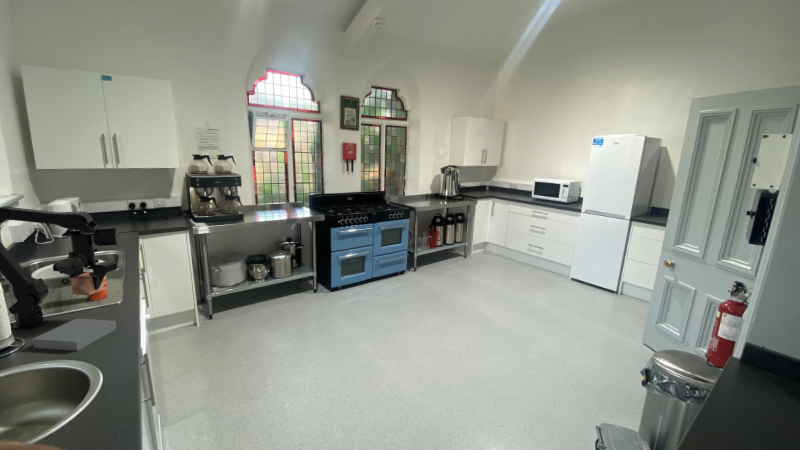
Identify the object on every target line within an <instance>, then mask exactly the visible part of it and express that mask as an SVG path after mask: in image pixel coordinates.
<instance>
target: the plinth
mask: <svg viewBox="0 0 800 450" xmlns="http://www.w3.org/2000/svg"><path fill="white" fill-rule="evenodd" d="M116 322H117V321H116V320H109V319H108V320H107V319H106V320H105V319H92V318H91V319H90V318H74V319H72V320H70V321H68V322H66V323H64V324H62V325H59V326H57V327H55V328H53V329H51V330H48V331H46V332H44V333H42V334H41V335H38V336H36V337H34V338H32V345H33V349H41V350H42V349H43V350H44V349H46V350H59V351H60V350H61V351H74V352H75V351H76V352H78V351H79V350H82V349H84V348H85V347H87V346H89V345H91V344H92V343H94V342H96V341H97V340H99V339H101V338H103V337H105V336H106V335H108V334H110V333H112V332H113V331H115V330H117V323H116Z"/></svg>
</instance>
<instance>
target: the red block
mask: <svg viewBox="0 0 800 450" xmlns="http://www.w3.org/2000/svg"><path fill="white" fill-rule="evenodd" d="M89 274H90V273H84V274H82V275H79V276H76V277H73V278H70V282H71V283H70V284H71V290H72V295H77V296H78V295H80V296H88V295H91V294H94V293H96V292H98V291H101V290H103V289H104V283H103V281H102V283H101V285H100V287H99V289H97V290H95V287H94V283H93V277H92V276H90V275H89Z"/></svg>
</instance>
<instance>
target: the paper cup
mask: <svg viewBox="0 0 800 450" xmlns="http://www.w3.org/2000/svg"><path fill="white" fill-rule="evenodd" d="M84 273H93V269H84V271H83V274H84ZM103 283H104V289H103V290H101V291H98V292H96V293H94V294H91V295H87V297H88V300H89V301H90V302H92V301H93V302H96V301H97V302H98V301H101V299H102V300H104V298H105V299H106V298H107V297H108V290H107V285H108V284H107V274H106V275H105V277H104V279H103Z"/></svg>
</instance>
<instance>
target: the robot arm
mask: <svg viewBox="0 0 800 450" xmlns="http://www.w3.org/2000/svg"><path fill="white" fill-rule="evenodd" d="M7 220H8V221H18V222H29V223H36V224H37V223H40V224H49V225H54V226H58V227H59V228H60V227H61V228H64V229H66V231H65V232H64V233H62V234H61V237H70V244H71V250H70V251H68V257H66V258H64V259H62V260H60V261H56V262H54V264H53V265H52V270H53V272H58V273H59V274H60V275H61V274H64V275H67V276H68V277H69V278H70V279H71V278H73V277H76V276H79V275H82V274H83V271H84V269H93V273H90V274H89V275H90V276H92V277H93V283H94V287H95V290H97V289H99V287H100V285H101V283H102V281H103V279H104V277H105V275H106V276H107V273H110V272H112V271H114V270H118V264H117V263H116V262H115V261H107V260H105V261H102V262H100V260H99V259H98V258H96V255H95V252H96V253H97V252H98V248H99V247H113V246H114V247H115V246H120V245H121V244H120V243H121V234H120V233H119V230H118V227H117V226H110V227H102V226H100V225H99V224H98V223H97V222H96V221H94V219H93V217H92V215H91V214H90V213H89V212H87V211H83V210H82V211H80V210H79V211H76V210H75V211H58V212H57V211H49V210H41V209H40V210H38V209H31V208H21V207H13V206H11V205H4V206H0V225H1V224H2V223H4V222H6V221H7ZM95 246H98V248H95ZM0 273H1V275H2V276H3V277H4V278H5V279H6V280H7V282H8V283H9V284H10V285H11V287H12V293H13V297H14V298H15V301H16V302H14V303H13V304H12V305H11V306H9V307H8V311H9V312H10V314H11V315H14V319H15V320H14V321H15V324H14V325H12V326H11V327H12V328H11V329H14V330H15V329H16V330H31V329H34V328H35V327H38V326H40V325H43V324H45V323H48V322H49V319H47V318H44V313H43V310H42V307H41V306H40V304H42V303H43V300H45V299H46V298H47V297H48V295H49V293H50V290H49V287H50V286H49V285H48V284H46V283H45V282H44V280H43V278H41V277H39V278H37V279H36V278H33V277H31V276H30V275H29V274H28V273H27V271H25V270H24V268H23V267H22V266H21V265H20V263H19V262H18V261H17V260H16V258H14V256H13V255H12V254H11V253H10V251H8V249H7V248H6V246H5V245H3V243H2V242H1V241H0Z"/></svg>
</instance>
